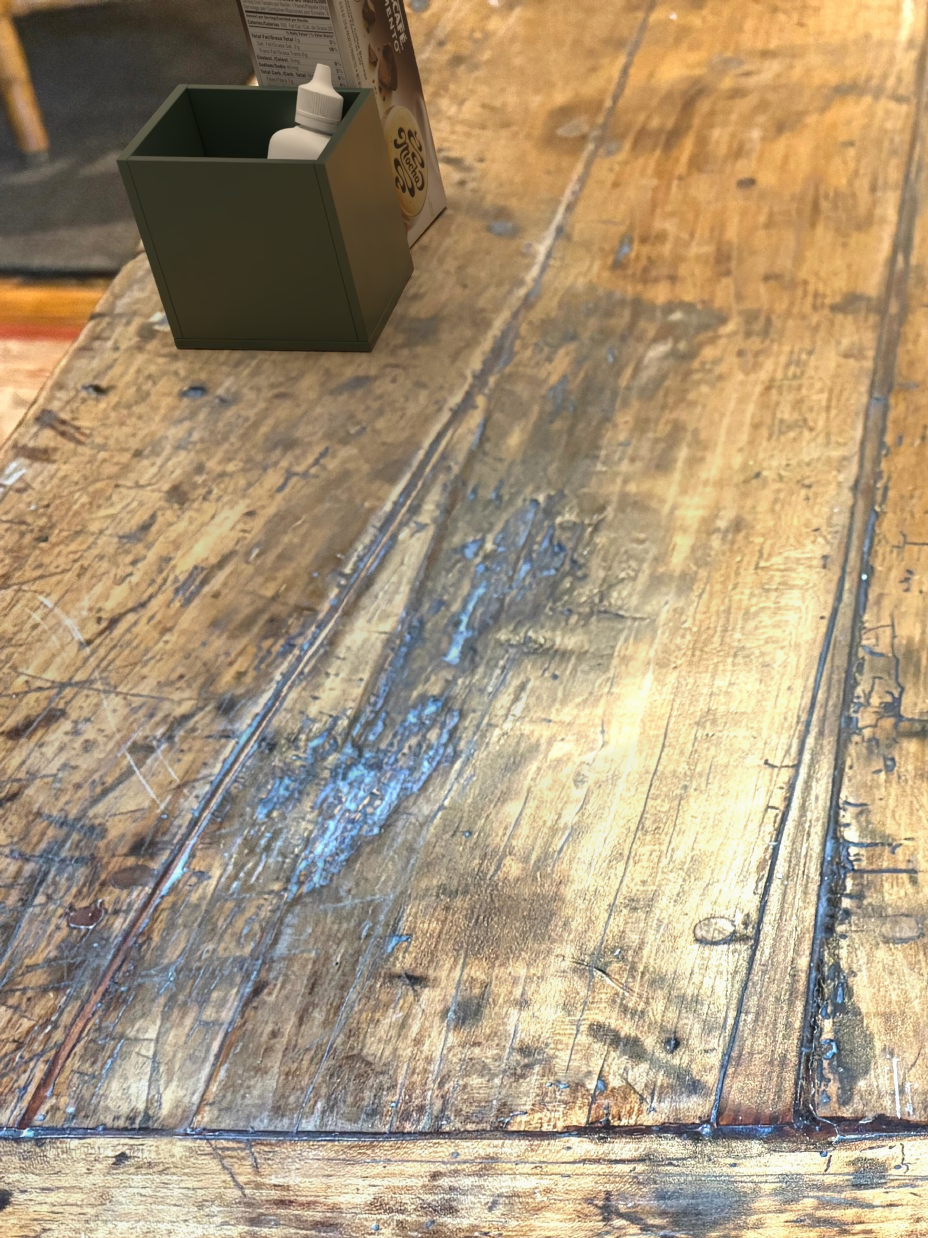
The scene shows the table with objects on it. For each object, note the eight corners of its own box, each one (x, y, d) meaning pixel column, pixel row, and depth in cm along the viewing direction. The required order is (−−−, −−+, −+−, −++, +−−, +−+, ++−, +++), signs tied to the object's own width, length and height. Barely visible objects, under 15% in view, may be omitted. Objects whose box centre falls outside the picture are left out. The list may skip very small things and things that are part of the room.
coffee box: (356, 198, 130) (289, -78, 118) (450, 206, 129) (393, -70, 118) (298, 257, 123) (222, -28, 112) (397, 265, 123) (331, -20, 111)
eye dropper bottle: (328, 281, 121) (351, 69, 116) (350, 301, 117) (375, 82, 112) (252, 265, 119) (272, 48, 114) (272, 285, 115) (294, 60, 110)
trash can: (176, 348, 115) (115, 159, 107) (231, 265, 122) (178, 83, 115) (371, 352, 115) (324, 163, 107) (414, 268, 123) (373, 87, 115)
